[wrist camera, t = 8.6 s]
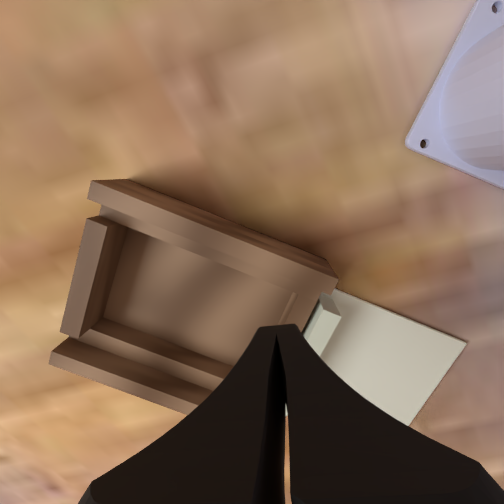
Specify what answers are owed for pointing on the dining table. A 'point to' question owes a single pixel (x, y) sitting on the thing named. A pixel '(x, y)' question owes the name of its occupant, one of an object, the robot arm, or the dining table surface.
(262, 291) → the groove box
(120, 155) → the dining table surface
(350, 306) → the cover plate
